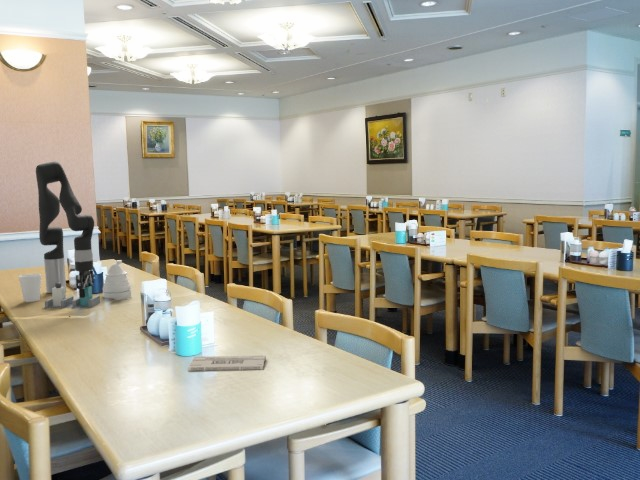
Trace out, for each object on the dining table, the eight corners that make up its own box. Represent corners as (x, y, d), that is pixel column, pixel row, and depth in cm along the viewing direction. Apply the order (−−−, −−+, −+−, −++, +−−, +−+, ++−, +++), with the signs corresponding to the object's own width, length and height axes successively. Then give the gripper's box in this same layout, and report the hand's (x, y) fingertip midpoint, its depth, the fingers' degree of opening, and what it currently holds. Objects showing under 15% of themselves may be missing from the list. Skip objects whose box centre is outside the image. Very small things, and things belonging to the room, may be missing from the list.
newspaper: (266, 358, 181) (265, 351, 180) (263, 375, 169) (262, 367, 168) (193, 359, 180) (193, 352, 180) (185, 377, 168) (185, 369, 168)
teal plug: (83, 303, 260) (82, 281, 259) (92, 303, 260) (91, 281, 259) (80, 305, 256) (78, 283, 255) (89, 305, 256) (87, 283, 255)
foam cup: (36, 304, 265) (34, 276, 263) (16, 304, 265) (14, 277, 264) (46, 300, 274) (45, 273, 273) (27, 300, 274) (25, 273, 273)
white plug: (57, 304, 260) (55, 282, 259) (66, 304, 260) (64, 282, 259) (53, 306, 256) (51, 284, 255) (62, 306, 256) (60, 283, 255)
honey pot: (135, 294, 284) (133, 258, 282) (124, 300, 271) (122, 262, 269) (110, 294, 285) (108, 258, 283) (98, 300, 272) (95, 262, 270)
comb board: (54, 304, 264) (53, 296, 263) (102, 303, 264) (102, 295, 264) (42, 310, 252) (41, 301, 251) (92, 309, 252) (92, 300, 252)
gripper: (81, 257, 263) (83, 292, 265) (68, 262, 249) (71, 299, 250) (98, 257, 263) (100, 292, 265) (86, 261, 249) (88, 298, 250)
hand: (86, 295), depth 257 cm, fingers open, 8 cm apart
